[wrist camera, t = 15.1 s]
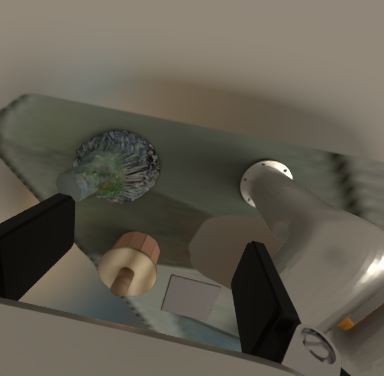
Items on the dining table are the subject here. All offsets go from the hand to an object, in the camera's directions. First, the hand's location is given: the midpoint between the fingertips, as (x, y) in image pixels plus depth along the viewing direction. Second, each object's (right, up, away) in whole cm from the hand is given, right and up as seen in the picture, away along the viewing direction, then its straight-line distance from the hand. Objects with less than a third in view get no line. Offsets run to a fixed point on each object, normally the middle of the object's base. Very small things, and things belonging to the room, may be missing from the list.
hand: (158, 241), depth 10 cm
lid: (-15, -19, +40) cm, 47 cm away
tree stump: (-17, +8, +39) cm, 43 cm away
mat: (+1, -34, +53) cm, 63 cm away
